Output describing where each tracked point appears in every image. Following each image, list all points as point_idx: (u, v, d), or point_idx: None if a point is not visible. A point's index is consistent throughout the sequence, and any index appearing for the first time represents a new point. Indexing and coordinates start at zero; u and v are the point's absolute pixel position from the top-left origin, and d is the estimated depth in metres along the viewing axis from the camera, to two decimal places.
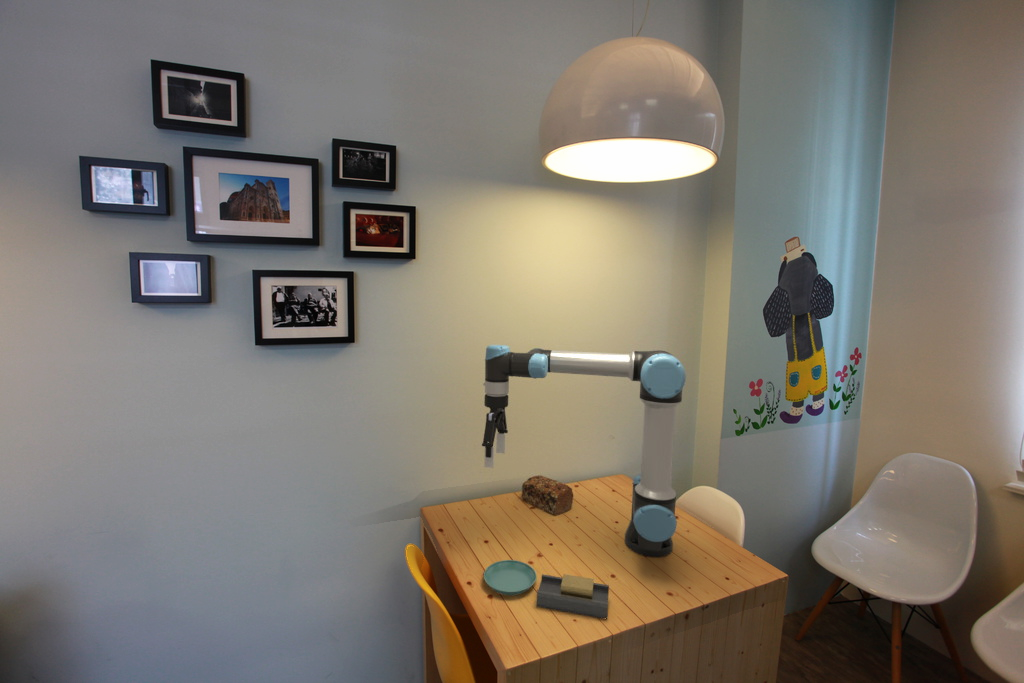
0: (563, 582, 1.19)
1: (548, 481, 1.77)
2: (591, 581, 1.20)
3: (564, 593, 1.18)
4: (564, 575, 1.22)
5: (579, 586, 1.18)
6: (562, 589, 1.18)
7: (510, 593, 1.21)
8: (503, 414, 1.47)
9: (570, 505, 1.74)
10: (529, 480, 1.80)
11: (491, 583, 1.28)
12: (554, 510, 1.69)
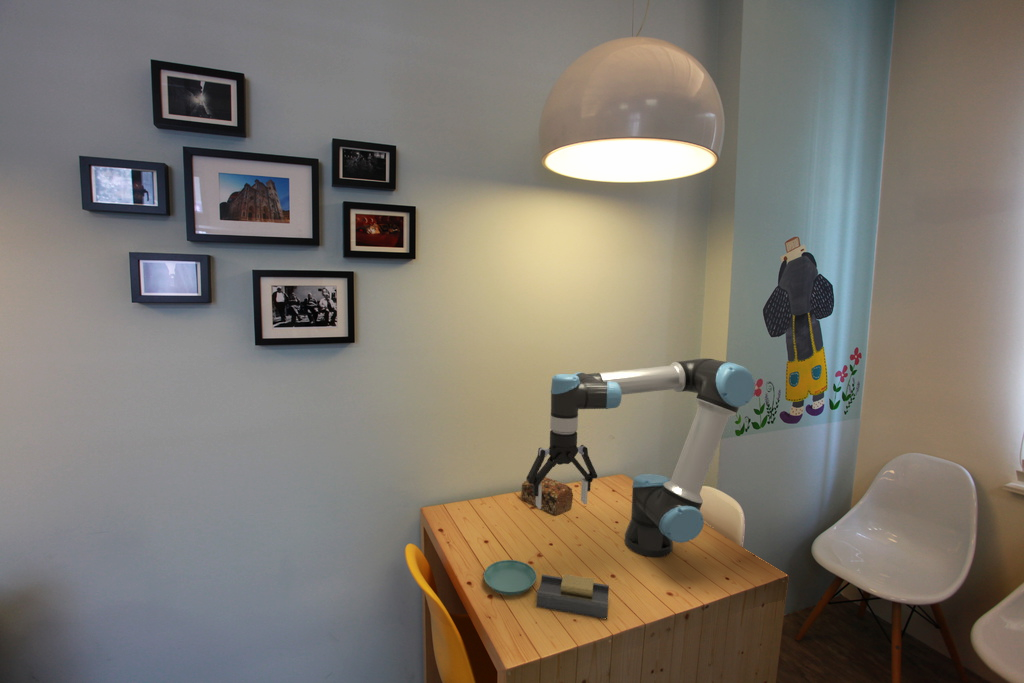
0: (563, 582, 1.19)
1: (548, 481, 1.77)
2: (591, 581, 1.20)
3: (564, 593, 1.18)
4: (564, 575, 1.22)
5: (579, 586, 1.18)
6: (562, 589, 1.18)
7: (510, 593, 1.21)
8: (572, 456, 1.26)
9: (570, 505, 1.74)
10: None
11: (491, 583, 1.28)
12: (554, 510, 1.69)
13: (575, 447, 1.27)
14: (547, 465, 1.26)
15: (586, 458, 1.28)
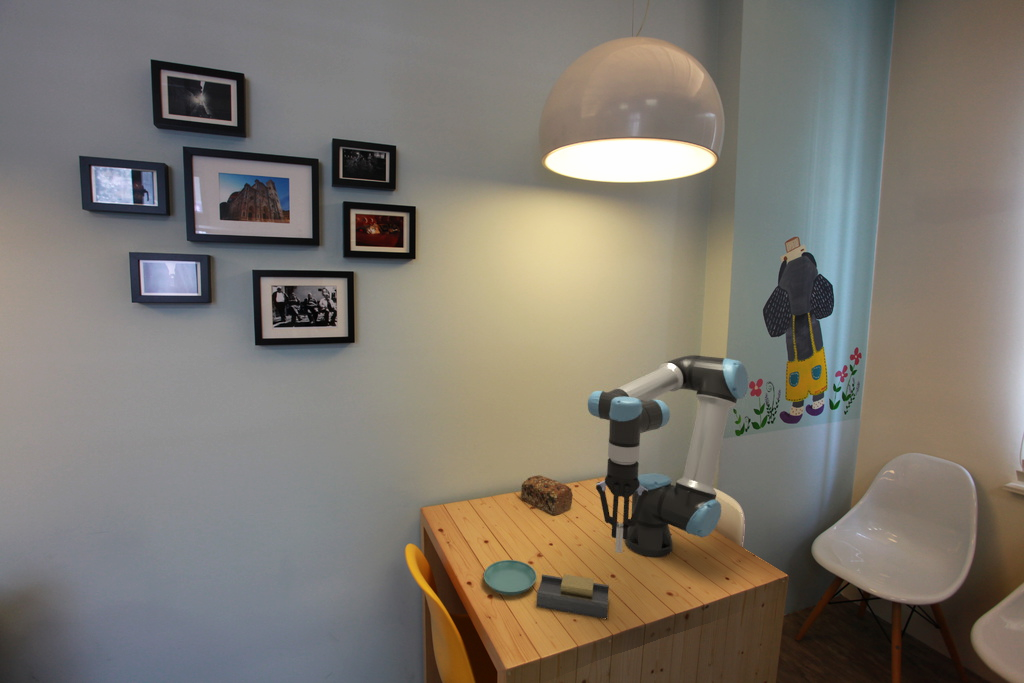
0: (563, 582, 1.19)
1: (547, 481, 1.77)
2: (591, 581, 1.20)
3: (564, 593, 1.18)
4: (564, 575, 1.22)
5: (579, 586, 1.18)
6: (562, 589, 1.18)
7: (510, 593, 1.21)
8: (628, 491, 1.13)
9: (569, 505, 1.74)
10: (528, 480, 1.81)
11: (491, 583, 1.28)
12: (553, 510, 1.69)
13: (638, 482, 1.13)
14: (613, 501, 1.15)
15: (639, 501, 1.13)
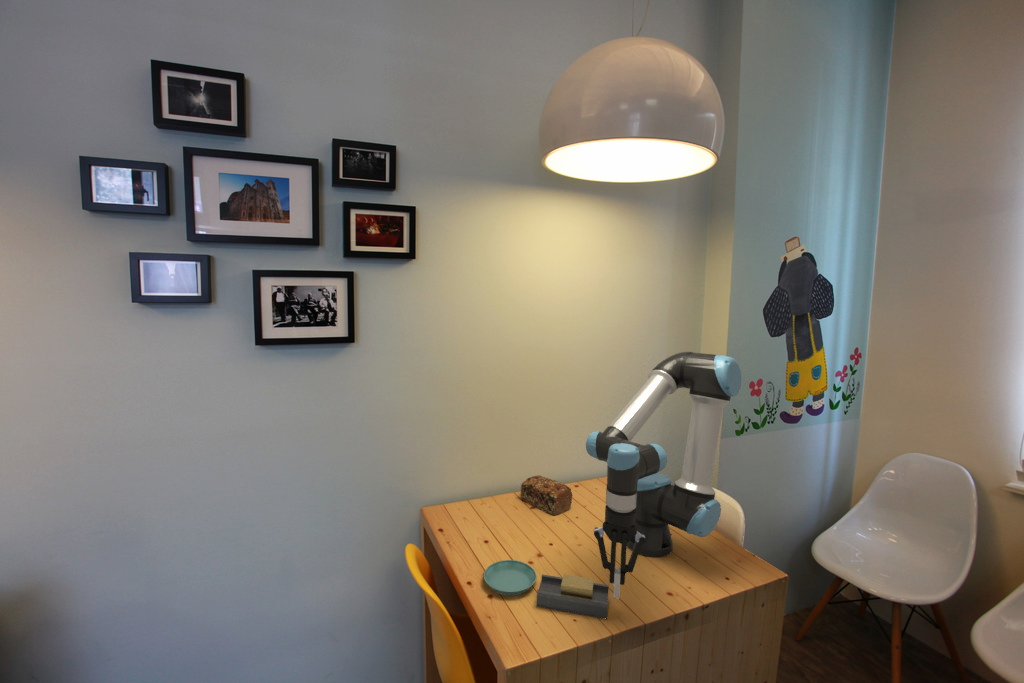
0: (563, 582, 1.19)
1: (547, 481, 1.77)
2: (591, 581, 1.20)
3: (564, 593, 1.18)
4: (564, 575, 1.22)
5: (579, 586, 1.18)
6: (562, 589, 1.18)
7: (510, 593, 1.21)
8: (625, 538, 1.14)
9: (569, 505, 1.74)
10: (528, 480, 1.80)
11: (491, 583, 1.28)
12: (553, 510, 1.69)
13: (635, 529, 1.14)
14: (611, 547, 1.16)
15: (636, 548, 1.14)
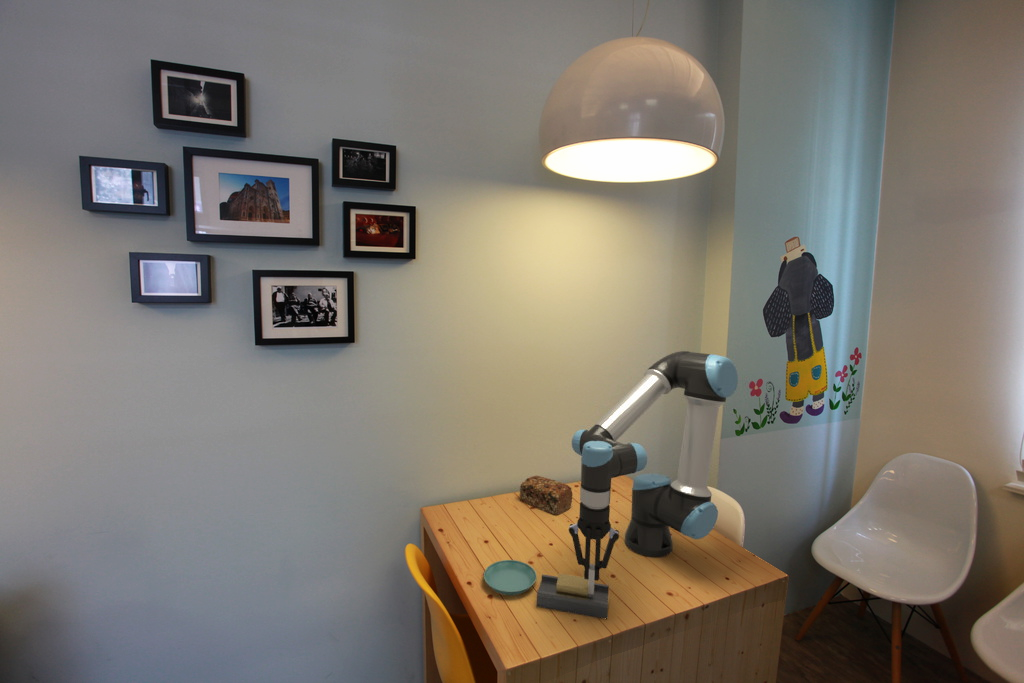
0: (558, 581, 1.19)
1: (547, 481, 1.77)
2: (586, 580, 1.20)
3: (559, 592, 1.18)
4: (560, 575, 1.22)
5: (575, 585, 1.18)
6: (557, 589, 1.18)
7: (510, 593, 1.21)
8: (599, 534, 1.15)
9: (569, 504, 1.75)
10: (527, 481, 1.80)
11: (491, 583, 1.28)
12: (555, 509, 1.69)
13: (609, 526, 1.15)
14: None
15: (610, 544, 1.16)
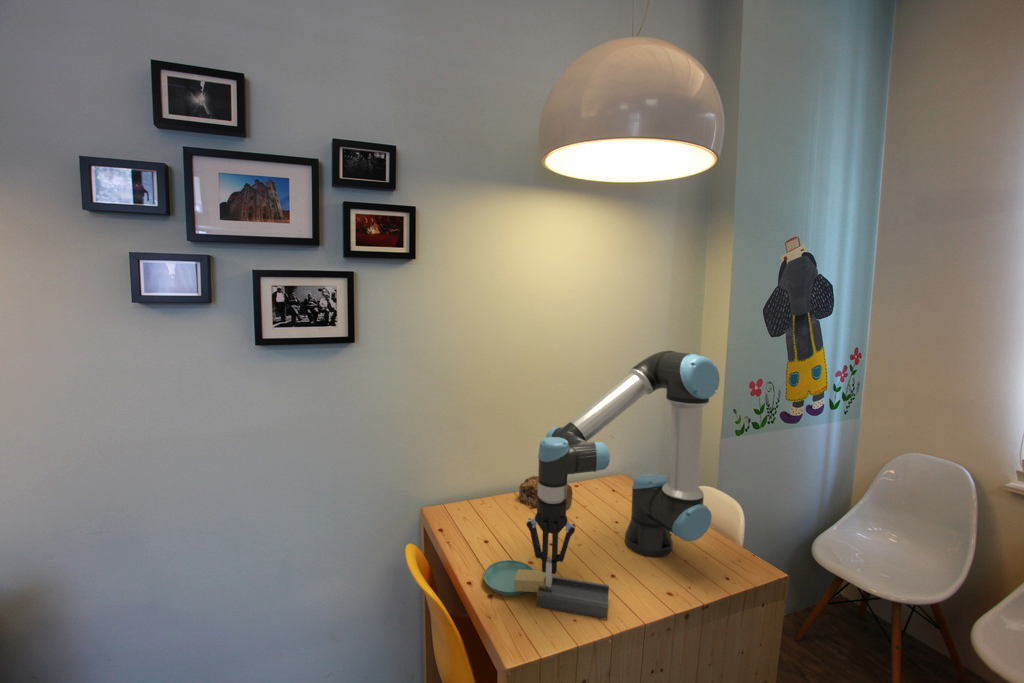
0: (516, 577, 1.22)
1: None
2: (544, 573, 1.23)
3: (518, 587, 1.21)
4: (519, 570, 1.25)
5: (532, 579, 1.21)
6: (515, 584, 1.21)
7: (510, 593, 1.21)
8: (555, 528, 1.18)
9: (570, 503, 1.76)
10: (527, 481, 1.79)
11: (491, 583, 1.28)
12: None
13: (565, 520, 1.18)
14: (543, 537, 1.20)
15: (566, 538, 1.18)
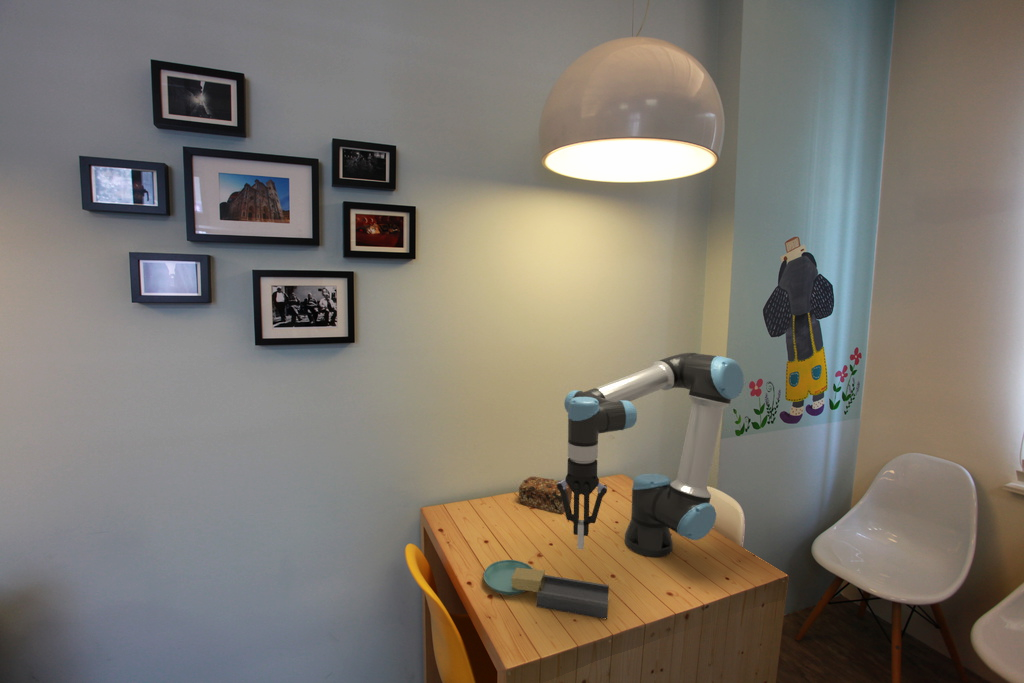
0: (514, 575, 1.23)
1: (547, 481, 1.77)
2: (541, 572, 1.23)
3: (515, 585, 1.22)
4: (517, 569, 1.26)
5: (529, 578, 1.21)
6: (512, 582, 1.22)
7: (510, 593, 1.22)
8: (587, 489, 1.15)
9: (570, 501, 1.77)
10: (526, 483, 1.78)
11: (491, 583, 1.28)
12: (561, 508, 1.70)
13: (597, 480, 1.15)
14: (574, 499, 1.18)
15: (598, 498, 1.16)
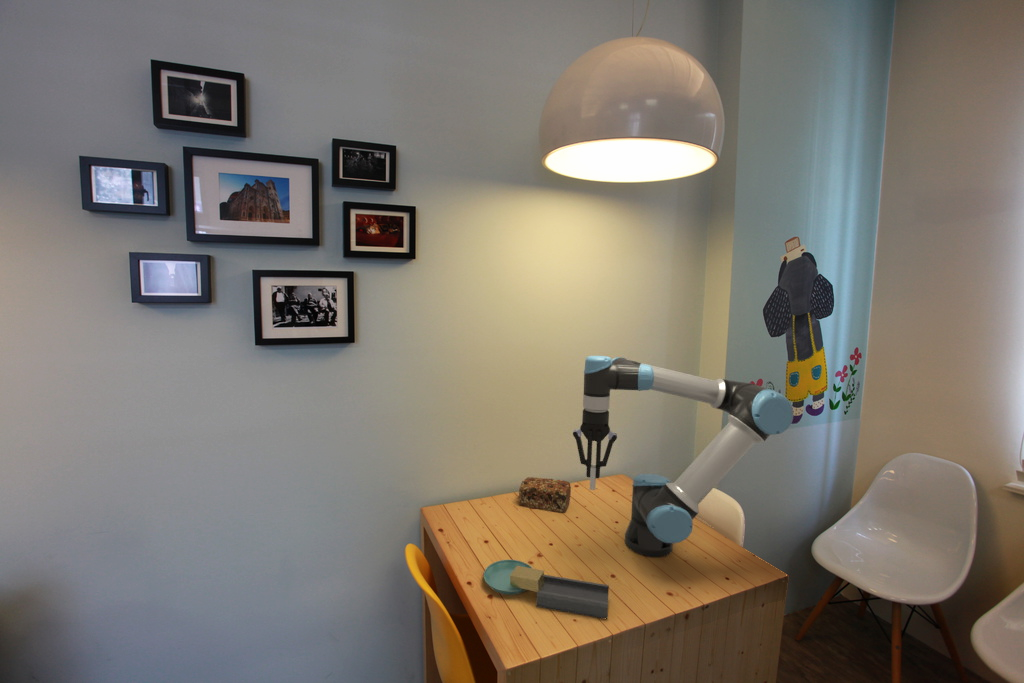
0: (513, 573, 1.24)
1: (547, 481, 1.77)
2: (540, 572, 1.23)
3: (513, 583, 1.23)
4: (517, 567, 1.27)
5: (527, 577, 1.22)
6: (511, 580, 1.23)
7: (510, 593, 1.22)
8: (599, 435, 1.31)
9: (569, 499, 1.79)
10: (526, 484, 1.77)
11: (491, 583, 1.28)
12: (564, 507, 1.71)
13: (608, 428, 1.32)
14: None
15: (609, 444, 1.32)
